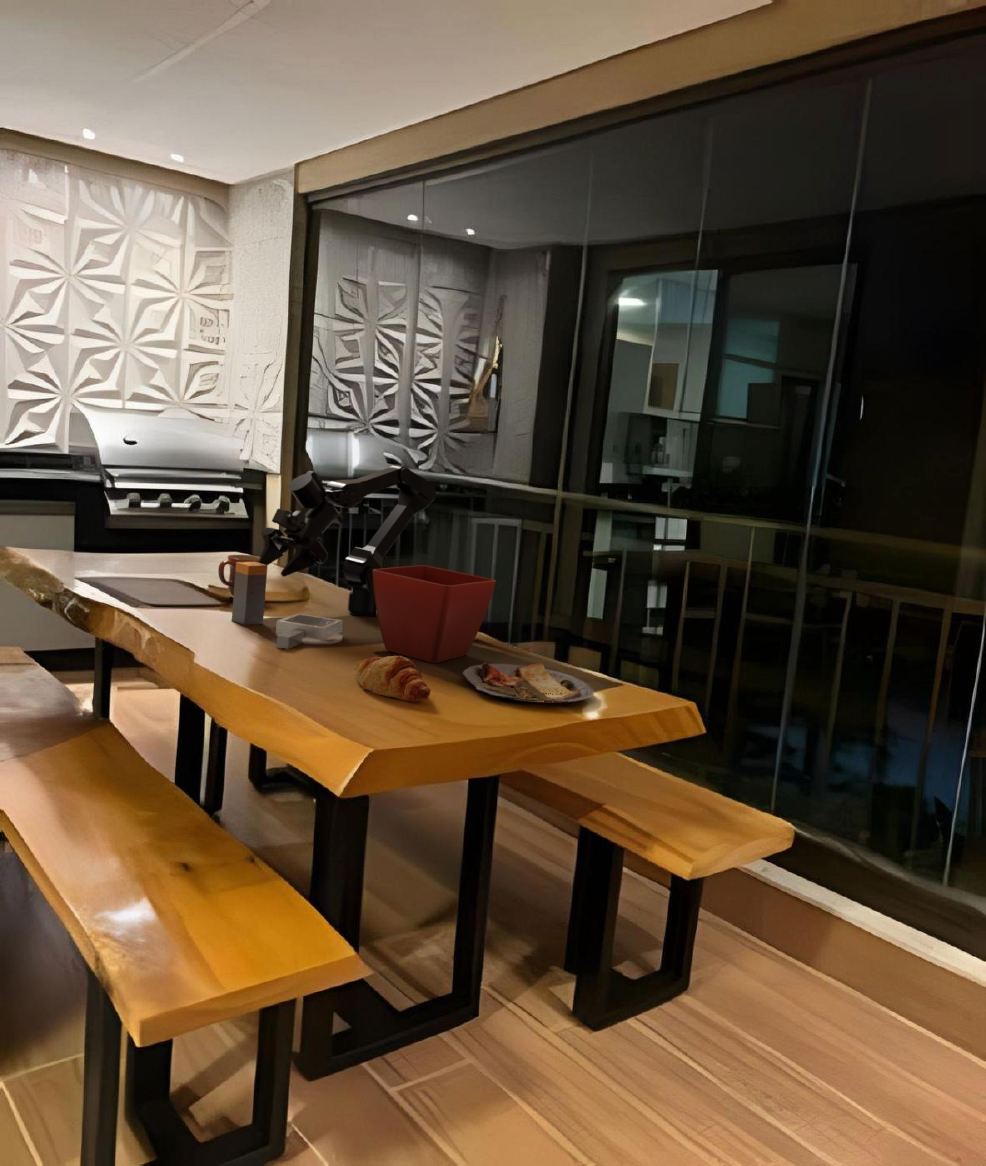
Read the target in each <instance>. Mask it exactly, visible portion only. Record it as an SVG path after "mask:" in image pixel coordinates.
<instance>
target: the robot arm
mask: <svg viewBox="0 0 986 1166" xmlns="http://www.w3.org/2000/svg"><path fill="white" fill-rule="evenodd" d="M393 486H395V488H397V490H399V492H398V501H397V504H396V505H395V507H394V508H393V510H391V512H390V514H389V515H388V516H387V517H386V519H385V520H384V522H383V523H382V525H381V526H380V527H379V529H378V530H377V531H376V532H375V534H374V535H373V536H372V538H371V539H370V540H369V542H368V544H367V545H365V546H364V547H362V548H361V547H357V546H355V547H353V548H352V550H351V552H350V553H349V555H348V556H347V557H345V558H344V560H345V562H344V563H343V566H342V568H343V576H344V577H345V583H346V586H348V587H351V592H348V598H347V611H348V612H349V615H354V616H369V617H378V616H377V610H376V604H375V595H374V584H373V569H382V568H383V561H384V557H385V556H386V555H387V553H388V551H389V550H390V549H391V547H392V546H393V545H394V543H395V541H397V539H398V538H399V536H400V535H401V533H402V532H403V530H404V529H406V527H407V525H408V524H409V523H410V521H411V520H412V519H413V517H414V516H415V515H416V514H417V513H419V512H421V511H423V510H425V509H426V508H427V507H429V505H431V503H432V502H434V501H435V499H436V496H437V489H436V485H435V483H434V482H433V481H432V480H427V479H426V478H425V477H423V476H421V475H419V474H417V473H416V472H414V471H412V470H411V469H410V468H409V467H407V466H405V465H399V464H392V465H390V466H389V467H387V468H383V469H381V470H378V471H375V472H372V473H370V474H366V475H364V476H361V477H358V478H354V479H353V478H352V479H338V480H332V481H329V482H328V483H327V484H325V485H323V484H322V483H321V481H320V480H319V477H318V476H317V474H316V472H315V471H311V470H308V471H307V472H306V473H304V474H301V475H299V476H297V477H295V478H293V479H292V480H291V481H290V482H289V484H288V489H289V491H290V492H291V494H292V495H293V496H294V498H295V499H296V500H297V502H298V503H299V505H300V507H301V508H303V509H309V510H308V511H306V513H305V512H303V511H300V510H295V511H294V512H293V511H289V510H287V509H282V508H277V509H276V512H275V513H274V515H273V517H272V520H271V522H272V523H274V524H277V525H278V526H281V527H282V528H283V529H282V530H280V529H278V528H274V527H269V526H268V527H265V528H264V529H263V531H262V532H260V533H261V536H262V539H263V541H264V547H263V550H262V553H261V554H260V556H259V557H260V559H259V561H258V563H261V564H264V565H268V566H269V565H270V564H273V562H275V561H277V560H279V559H280V558H282V557H283V556H284V553H286V552H288V550H289V549H291V548H292V549H294V550H295V553H294V554H293V556H292V557H291V559H289V561H288V562H287V563H286V564H285V566H284V568H283V569H282V570H281V572H280V575H281V576H282V577H286V576H290V575H291V574H294V573H297V572H299V571H302V570H305V569H307V568H310V567H314V566H318V564H320V565H323V564H324V563H325V562H326V561H327V560H328V557H329V552H328V551H327V550H326V548H325V546H324V545H323V543H321V541H320V540H323V539H324V538H325V535H324V534H323V533H324V532H325V531H326V530H327V529H328V528H330V527H329V526H331V525H332V523H335V524H338V525H342V524H344V518H343V514H344V513H343V512H342V511H338V509H337V508H336V507H340V508H345V509H352V508H353V507H355V506H356V505H358V504H359V503H361V502H362V501H363V500H364V498H365V497H366V496H369V495H371V494H375V493H377V492H379V491H380V492H381V491H382V490H385V489H388V488H391V487H393ZM284 534H286V536H285V535H284Z"/></svg>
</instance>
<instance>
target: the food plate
mask: <svg viewBox="0 0 986 1166" xmlns="http://www.w3.org/2000/svg"><path fill="white" fill-rule="evenodd" d="M461 672H462V673H461V674H462V675H463V676H464V677H465V679H466V680H467V681H468V682H469V683H470V684H471V685H473V686H474V688H475V687H476V688H475V689H476V690H478V691H482V693H487V694H489V695H490V696H496V697H498V698H499V697H501V698H504V699H507V698H511V699H521V700H526V701H527V700H529V701H530V700H531V701H544V702H552V701H553V702H554V703H556V702H563V701H564V702H565V703H567V702H568V701H569V703H570V702H572V703H574V702H578V701H583V700H587V699H589V698H591V697H592V696H593V695H594V692H595V689H594V688H593V687H592V685H590V684H588V683H587V682H586V681H584V680H582V679H580V678H578V677H576V676H574V675H570V674H568V673H565V672H561V671H556V670H553V669H550V668H549V669H548V668H546V667H545V666H544V663H543V662H540V661H538V662H536V663H530V664H527V665H526V664H513V663H504V662H502V663H495V662H492V663H491V662H490V663H487V662H486V661H484V662H483V661H482V662H481V664H475V665H474V664H473V665H470V666H469V667H467V668H465V669H464V670H463V671H461ZM509 675H511V676H509ZM520 681H524V682H526V683H528V684H529V685H530V686H531V687H532V688H535V689H536V690H538V691H539V692H540V693H544V694H545V693H547V694H545V696H546V697H547V698H551V699H552V700H545V699H525V698H518V697H516V696H512V695H508V694H503V693H500V692H496V691H489V690H487V689H485V688H483V687H482V685H481V684H480V685H481V687H480V686H477V683H487V684H488V685H490V686H492V687H511V688H514V689H515V691H516V693H517V694H518V696H519V697H526V698H540V697H539V696H538V694H537V693H535V692H534V691H532V690H530V689H528V688H526V687H523V686H522V687H519V686H516V684H519V682H520ZM568 689H569V690H568ZM557 691H558V692H557ZM548 693H549V694H548ZM550 693H551V694H550ZM560 693H562V694H560ZM552 694H553V695H552ZM573 701H574V702H573Z"/></svg>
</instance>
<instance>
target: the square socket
mask: <svg viewBox="0 0 986 1166" xmlns="http://www.w3.org/2000/svg"><path fill="white" fill-rule="evenodd" d="M343 622H344V620H342V619H336V618H329V617H323V616H318V615H317V616H315V615H311V614H303V613H299V612H298V613H294V614H292V615H289V616H286V617H283V618H281V619H278V620H276V625H275V627H276V628H275V637H276V648H278V649H282V648H285V649H284V650H289V649H288V648H290V649H292V648H294V647H297V646H299V645H302V643H303V645H334V644H339V643H341V642H342V641H343V638H344V636H343V635H344V634H343V633H342V632H343V626H344V625H343V624H344V623H343ZM298 644H299V645H298Z"/></svg>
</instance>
